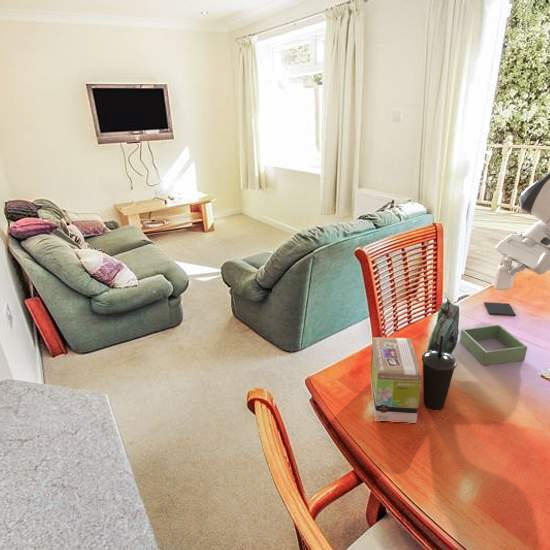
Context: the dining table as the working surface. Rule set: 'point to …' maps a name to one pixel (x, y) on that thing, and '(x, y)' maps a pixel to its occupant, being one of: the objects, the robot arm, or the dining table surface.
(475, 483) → the dining table surface
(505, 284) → the eye dropper bottle
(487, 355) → the crate
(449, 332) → the dark green backpack
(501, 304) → the coaster
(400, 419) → the tea box
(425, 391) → the drinking cup
